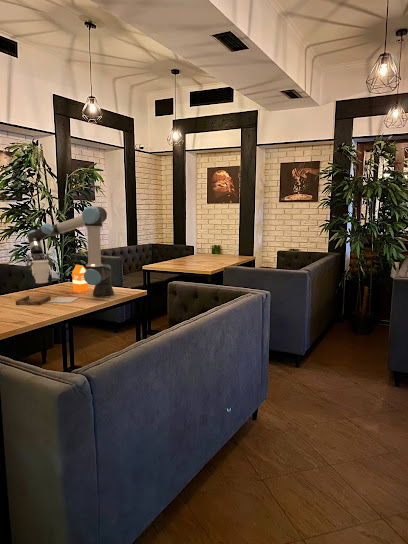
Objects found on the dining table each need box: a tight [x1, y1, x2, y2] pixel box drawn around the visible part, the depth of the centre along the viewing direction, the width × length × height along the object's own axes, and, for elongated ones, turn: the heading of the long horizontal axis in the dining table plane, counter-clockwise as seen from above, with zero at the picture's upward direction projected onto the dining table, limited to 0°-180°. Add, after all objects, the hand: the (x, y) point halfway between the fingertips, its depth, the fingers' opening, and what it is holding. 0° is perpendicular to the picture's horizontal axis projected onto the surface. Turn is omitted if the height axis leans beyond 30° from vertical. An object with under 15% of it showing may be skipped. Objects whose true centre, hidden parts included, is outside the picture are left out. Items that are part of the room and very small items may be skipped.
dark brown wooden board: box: [15, 295, 52, 306], centre depth 272 cm, size 16×17×2 cm
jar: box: [31, 259, 50, 284], centre depth 272 cm, size 11×10×15 cm
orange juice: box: [71, 264, 89, 293], centre depth 313 cm, size 8×9×20 cm
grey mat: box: [47, 296, 80, 304], centre depth 279 cm, size 16×16×1 cm
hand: (42, 274), depth 270 cm, fingers closed on jar, 10 cm apart
